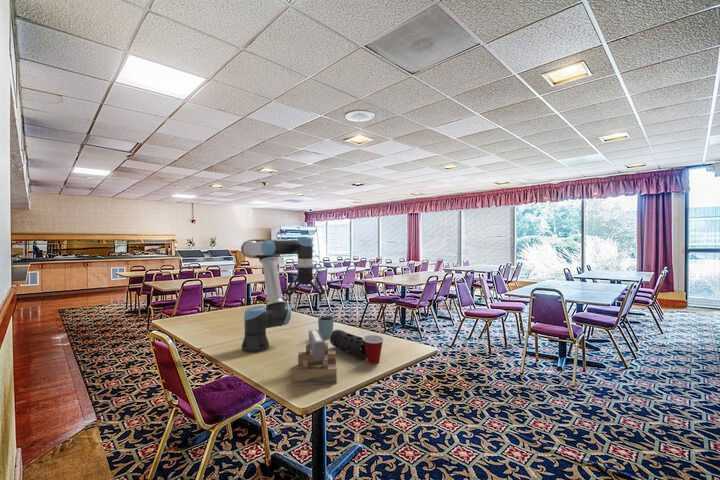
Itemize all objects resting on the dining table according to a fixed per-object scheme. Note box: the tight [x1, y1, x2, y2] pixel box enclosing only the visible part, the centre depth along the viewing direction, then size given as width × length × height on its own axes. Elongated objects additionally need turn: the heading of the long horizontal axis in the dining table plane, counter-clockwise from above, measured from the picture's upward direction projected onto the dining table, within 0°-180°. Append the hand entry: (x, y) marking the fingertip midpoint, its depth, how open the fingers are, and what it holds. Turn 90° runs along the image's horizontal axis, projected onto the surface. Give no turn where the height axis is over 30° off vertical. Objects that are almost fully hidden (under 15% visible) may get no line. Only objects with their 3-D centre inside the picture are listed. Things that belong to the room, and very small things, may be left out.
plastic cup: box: [362, 334, 385, 364], centre depth 174 cm, size 11×11×12 cm
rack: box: [293, 342, 338, 386], centre depth 160 cm, size 26×18×10 cm
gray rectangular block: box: [308, 329, 326, 360], centre depth 160 cm, size 4×22×7 cm, turn 14°
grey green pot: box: [317, 316, 335, 340], centre depth 219 cm, size 10×10×12 cm
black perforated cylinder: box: [328, 329, 367, 360], centre depth 189 cm, size 10×28×10 cm, turn 39°
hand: (305, 307), depth 179 cm, fingers open, 13 cm apart
